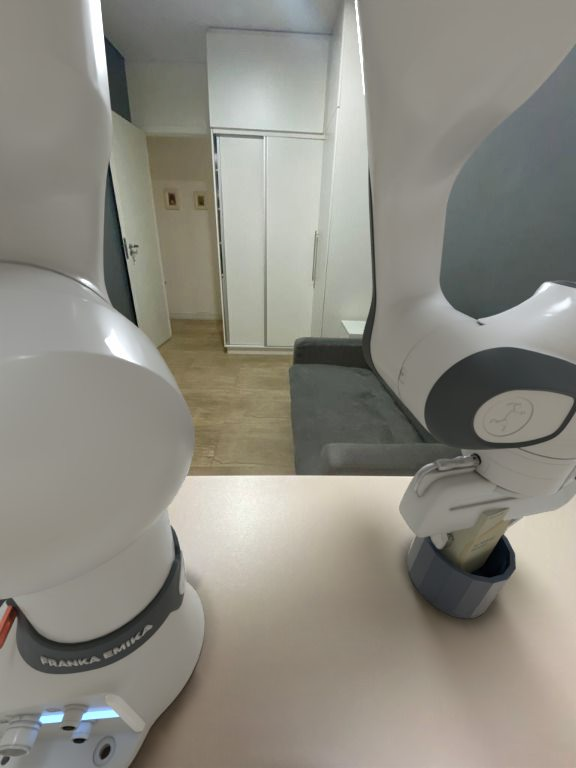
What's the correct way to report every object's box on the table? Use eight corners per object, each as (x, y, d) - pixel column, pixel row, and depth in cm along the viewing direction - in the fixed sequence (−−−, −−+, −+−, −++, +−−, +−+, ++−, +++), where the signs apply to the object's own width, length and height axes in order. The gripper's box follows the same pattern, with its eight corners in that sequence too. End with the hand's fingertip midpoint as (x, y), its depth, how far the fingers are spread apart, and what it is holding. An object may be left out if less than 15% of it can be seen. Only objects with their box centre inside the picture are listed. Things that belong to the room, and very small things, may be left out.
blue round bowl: (438, 628, 36) (461, 591, 32) (392, 546, 45) (405, 509, 41) (509, 607, 39) (538, 571, 35) (452, 533, 47) (470, 497, 44)
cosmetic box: (449, 585, 37) (487, 519, 31) (422, 552, 41) (451, 487, 35) (484, 565, 40) (526, 501, 34) (455, 536, 43) (488, 472, 37)
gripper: (447, 489, 26) (406, 581, 33) (621, 460, 31) (554, 545, 37) (405, 441, 31) (377, 528, 38) (559, 422, 36) (510, 503, 43)
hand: (466, 536), depth 38 cm, fingers closed on cosmetic box, 6 cm apart
